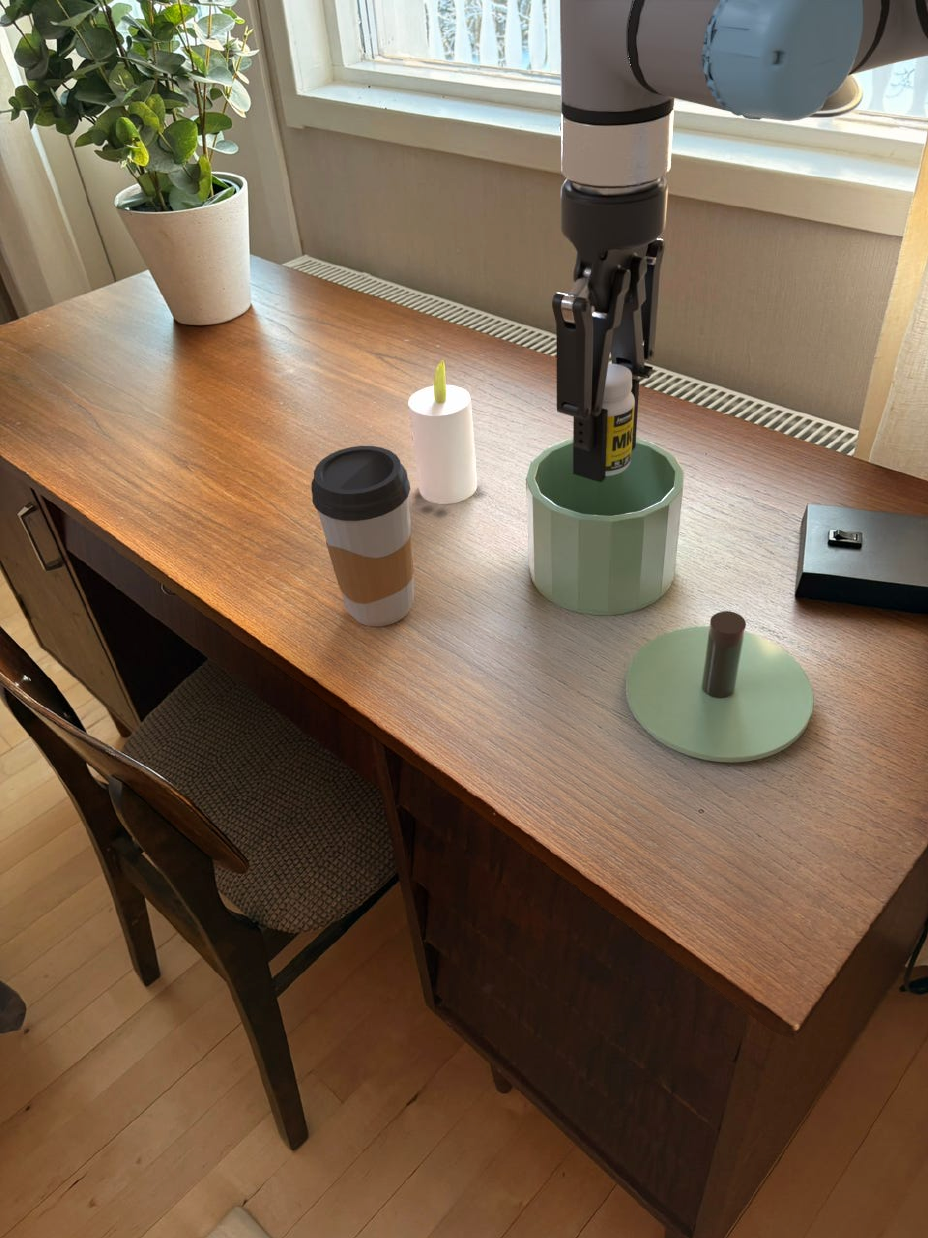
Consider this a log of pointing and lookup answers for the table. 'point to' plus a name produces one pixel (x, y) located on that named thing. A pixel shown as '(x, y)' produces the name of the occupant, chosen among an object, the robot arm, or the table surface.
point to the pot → (603, 530)
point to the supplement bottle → (618, 418)
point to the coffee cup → (367, 531)
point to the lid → (719, 692)
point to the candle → (443, 441)
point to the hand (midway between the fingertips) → (604, 459)
